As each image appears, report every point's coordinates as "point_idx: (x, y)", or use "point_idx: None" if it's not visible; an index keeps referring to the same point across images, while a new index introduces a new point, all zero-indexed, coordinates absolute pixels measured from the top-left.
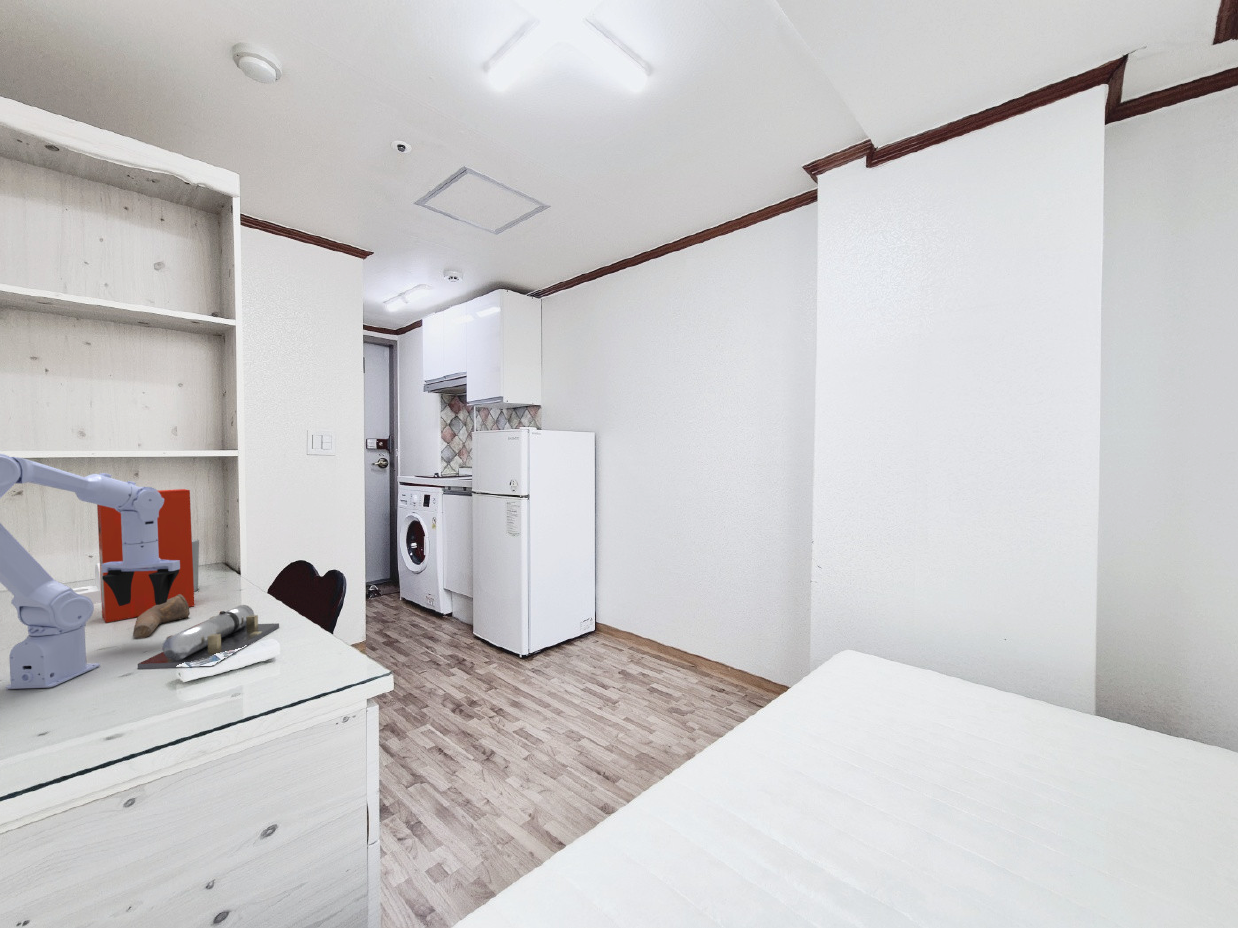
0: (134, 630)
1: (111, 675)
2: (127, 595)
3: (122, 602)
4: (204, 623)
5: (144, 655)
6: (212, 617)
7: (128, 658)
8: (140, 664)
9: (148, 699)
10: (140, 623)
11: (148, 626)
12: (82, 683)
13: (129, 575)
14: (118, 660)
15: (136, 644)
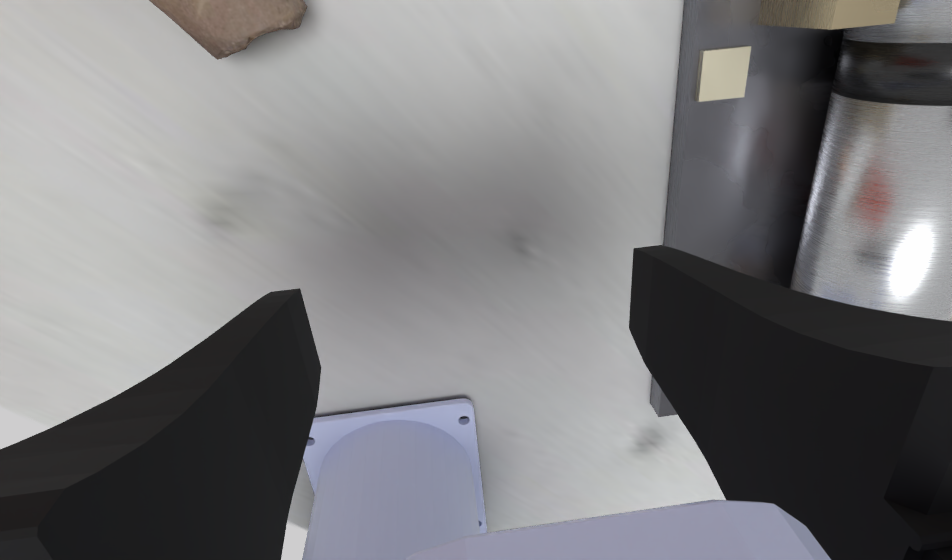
0: (219, 57)
1: (596, 449)
2: (280, 356)
3: (312, 377)
4: (946, 295)
5: (557, 286)
6: (844, 8)
7: (511, 319)
8: (669, 414)
9: None
10: (195, 1)
11: (289, 16)
12: (552, 499)
13: (170, 534)
14: (485, 340)
15: (358, 146)
